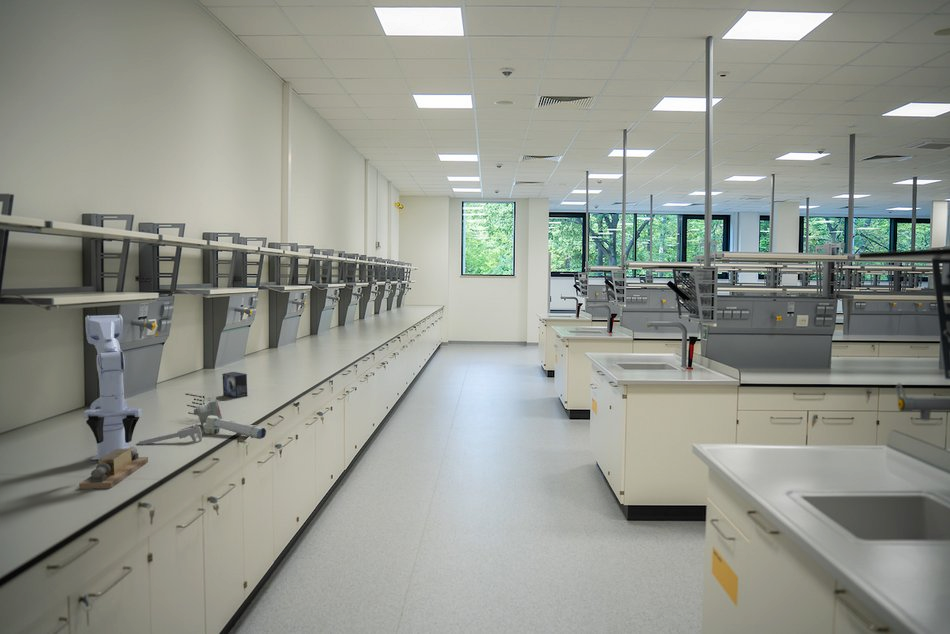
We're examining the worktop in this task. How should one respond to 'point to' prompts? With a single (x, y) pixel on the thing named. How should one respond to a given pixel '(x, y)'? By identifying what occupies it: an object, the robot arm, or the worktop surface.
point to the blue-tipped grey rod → (232, 427)
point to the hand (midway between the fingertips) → (114, 442)
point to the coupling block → (117, 460)
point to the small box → (234, 384)
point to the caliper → (176, 435)
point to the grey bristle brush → (206, 409)
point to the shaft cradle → (104, 480)
